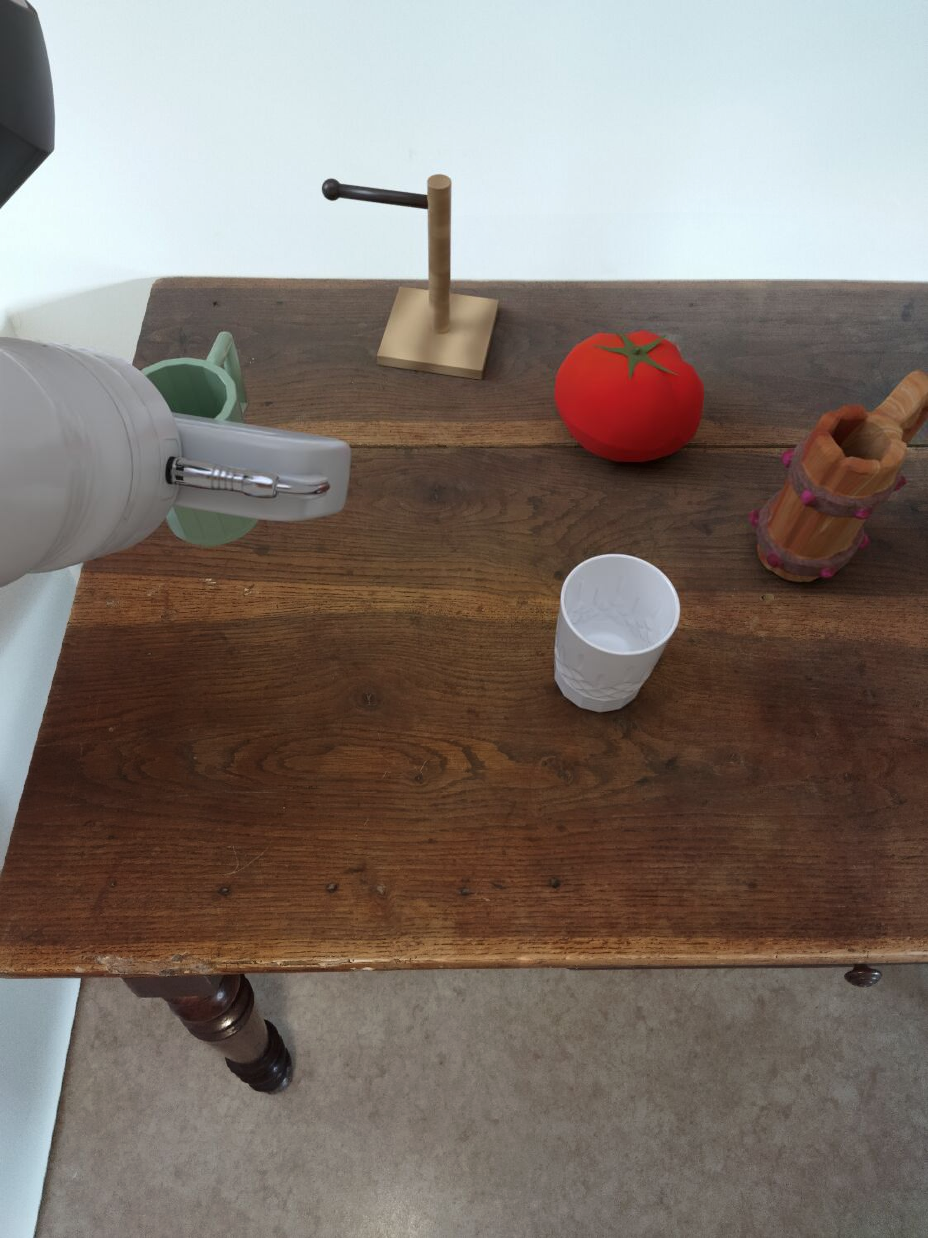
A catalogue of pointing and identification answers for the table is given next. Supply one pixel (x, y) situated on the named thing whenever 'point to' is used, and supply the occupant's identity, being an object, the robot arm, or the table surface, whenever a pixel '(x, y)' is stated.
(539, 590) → the table surface
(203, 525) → the enamel mug
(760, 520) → the mug
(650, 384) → the tomato
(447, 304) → the mug stand
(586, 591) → the white cup
